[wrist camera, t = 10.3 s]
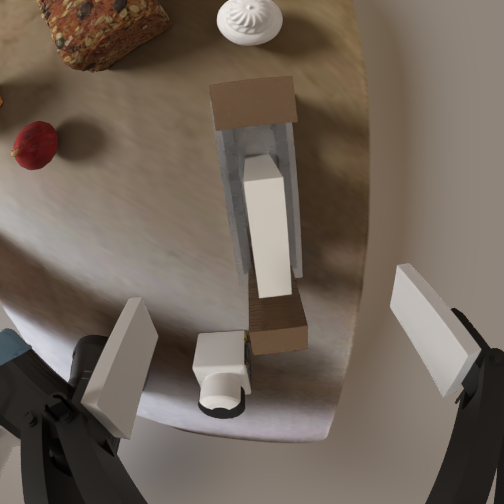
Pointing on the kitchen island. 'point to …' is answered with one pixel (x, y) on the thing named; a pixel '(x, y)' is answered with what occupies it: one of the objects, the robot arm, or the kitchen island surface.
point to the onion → (35, 145)
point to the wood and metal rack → (232, 172)
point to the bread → (101, 29)
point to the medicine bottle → (222, 373)
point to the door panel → (267, 225)
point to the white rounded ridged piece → (249, 21)
